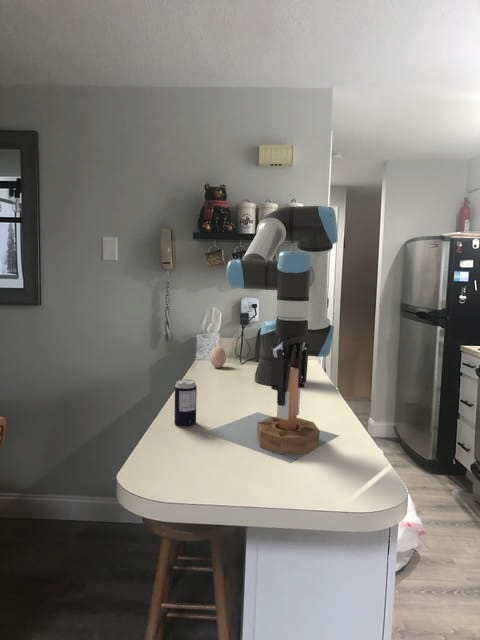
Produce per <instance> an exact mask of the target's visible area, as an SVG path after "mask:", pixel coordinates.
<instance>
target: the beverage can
mask: <svg viewBox="0 0 480 640" xmlns="http://www.w3.org/2000/svg"><path fill="white" fill-rule="evenodd" d="M197 389H198V386H197V384H196V381H195V380H194V379H189V378H188V379H179V380H176V384H175V385H174V424H175V425H176V426H177V427H179V428H189V427H193V426H195V425H196V423H197V395H198V393H197V391H198V390H197Z"/></svg>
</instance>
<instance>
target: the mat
mask: <svg viewBox="0 0 480 640" xmlns="http://www.w3.org/2000/svg"><path fill="white" fill-rule="evenodd" d="M269 417H274V416H272V415H268V414H265V413H261V412H258V411H257V412H254V413H252V414H249V415H246V416H243V417H241V418H238V419H235V420H232V421H231V422H228V423H225V424H222V425H220V426H217V427H215V428H211V429H208V430H206V431H204V433H205V434H208V435H211V436H213V437H216V438H218V439H221V440H224V441H228V442H229V443H233V444H236V445H238V446H241V447H244V448H247V449H250V450H252V451H256V452H258V453H260V454H263V455H266V456H270V457H272V458H274V459H278V460H280V461H284V462H286V463H288V464H292V463H294V462H295V461H297V460H299V459H300V458H302V457H305V456H306V455H308V454H310V453H311V452H309V453H307V454H302V455H280V454H277V453H274V452H271V451H268V450H265V449H262V448H260V447H259V444H258V441H257V422H259V421H262V420H264V419H267V418H269ZM319 430H320V433H319V447H318V448H320V447H322V446H324V445H325V444H327V443H329V442H331V441H333V440H334V439H336V438H337V437H340V434H335V433H331V432H328V431H325V430H321V429H319ZM318 448H316V449H314V450H313V451H315V450H317V449H318Z"/></svg>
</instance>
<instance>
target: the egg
mask: <svg viewBox="0 0 480 640" xmlns="http://www.w3.org/2000/svg"><path fill="white" fill-rule="evenodd" d="M209 360H210V364H211V365H212V366H213V367H214V368H216V369H219V368H221V367H223V366H224V365H225V363H226V360H227V354H226V352H225V350H224V348H222V346H220V345H217V346H215V347H214V348H213V349H211V352H210V356H209Z"/></svg>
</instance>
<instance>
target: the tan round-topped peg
mask: <svg viewBox="0 0 480 640" xmlns="http://www.w3.org/2000/svg"><path fill="white" fill-rule="evenodd" d="M298 372H299V369H298V368H293V367H291V369H290V375H289V382H288V389H287V391H288V392H289V415H288V419H287V420H285V419H282V418H280V423H279V429H280V430H283V431H296V419H297V418H298V417H297V416H298V415H297V395H298Z"/></svg>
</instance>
